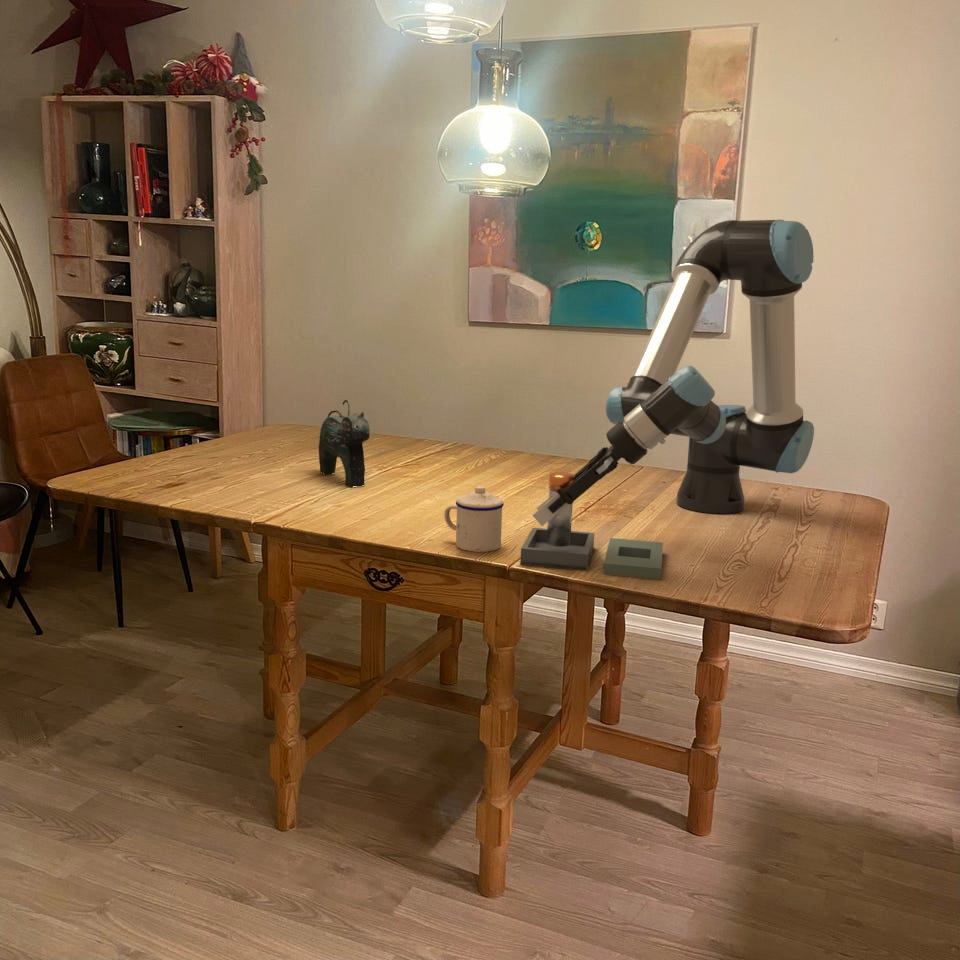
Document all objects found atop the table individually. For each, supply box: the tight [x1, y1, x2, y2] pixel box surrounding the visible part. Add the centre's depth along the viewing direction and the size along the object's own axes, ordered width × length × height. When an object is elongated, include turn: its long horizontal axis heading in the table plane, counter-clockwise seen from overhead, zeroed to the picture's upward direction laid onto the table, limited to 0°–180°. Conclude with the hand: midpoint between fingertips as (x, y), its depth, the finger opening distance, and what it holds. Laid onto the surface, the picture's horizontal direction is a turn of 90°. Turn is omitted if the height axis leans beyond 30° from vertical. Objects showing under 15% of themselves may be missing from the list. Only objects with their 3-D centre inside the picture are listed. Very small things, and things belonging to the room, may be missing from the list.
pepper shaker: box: [546, 471, 575, 547], centre depth 172 cm, size 5×5×13 cm
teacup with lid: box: [443, 485, 505, 553], centre depth 178 cm, size 12×9×12 cm
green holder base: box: [602, 537, 664, 580], centre depth 171 cm, size 16×10×2 cm, turn 168°
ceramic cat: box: [318, 399, 370, 488], centre depth 225 cm, size 20×6×20 cm, turn 35°
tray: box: [519, 527, 595, 571], centre depth 174 cm, size 14×12×3 cm
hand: (539, 516), depth 173 cm, fingers closed on pepper shaker, 4 cm apart
